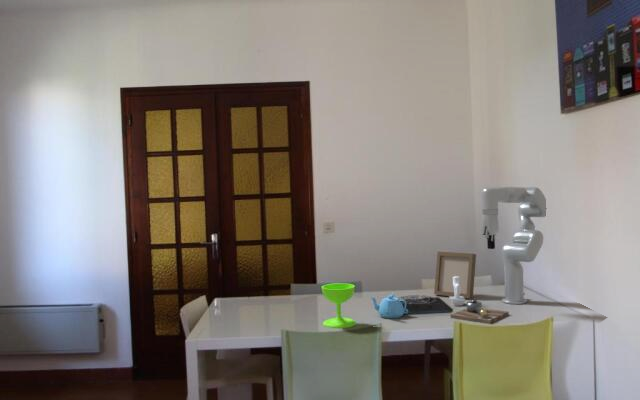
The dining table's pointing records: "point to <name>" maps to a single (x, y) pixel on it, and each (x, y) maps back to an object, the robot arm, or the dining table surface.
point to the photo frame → (455, 273)
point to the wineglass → (338, 303)
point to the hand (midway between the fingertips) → (491, 248)
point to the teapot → (390, 307)
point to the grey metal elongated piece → (476, 307)
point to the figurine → (457, 293)
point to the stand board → (476, 317)
